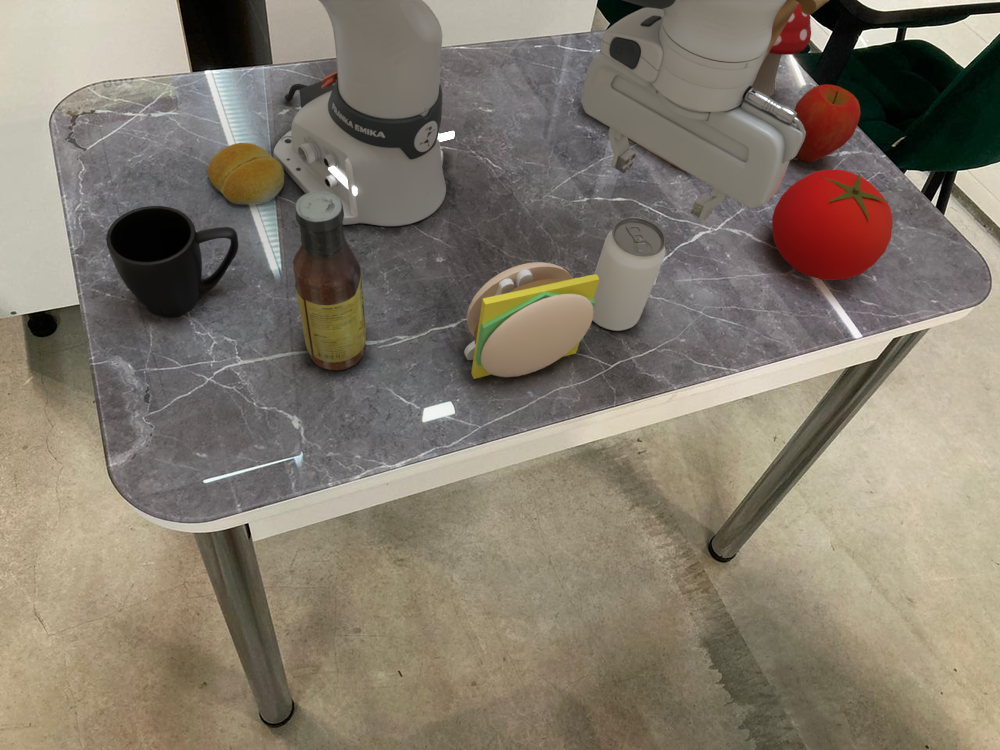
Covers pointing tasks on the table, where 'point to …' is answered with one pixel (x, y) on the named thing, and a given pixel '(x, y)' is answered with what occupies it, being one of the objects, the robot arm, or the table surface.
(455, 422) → the table surface
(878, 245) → the tomato
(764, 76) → the decorative mushroom
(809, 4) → the lid
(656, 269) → the can
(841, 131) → the apple
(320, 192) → the sauce bottle
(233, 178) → the bread roll
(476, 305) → the hamburger
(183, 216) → the mug
